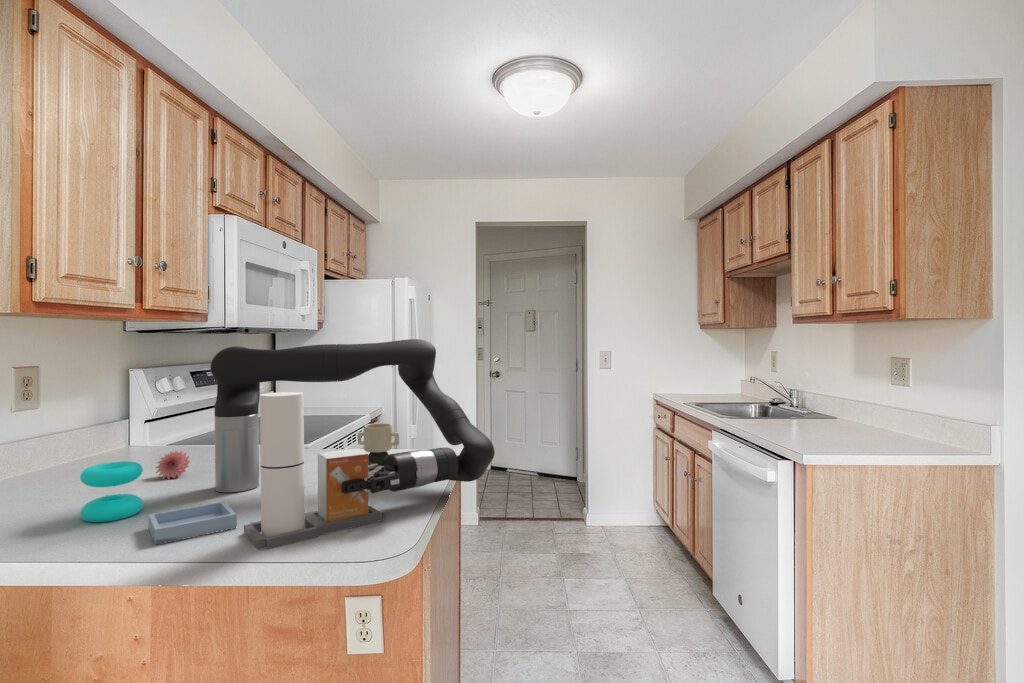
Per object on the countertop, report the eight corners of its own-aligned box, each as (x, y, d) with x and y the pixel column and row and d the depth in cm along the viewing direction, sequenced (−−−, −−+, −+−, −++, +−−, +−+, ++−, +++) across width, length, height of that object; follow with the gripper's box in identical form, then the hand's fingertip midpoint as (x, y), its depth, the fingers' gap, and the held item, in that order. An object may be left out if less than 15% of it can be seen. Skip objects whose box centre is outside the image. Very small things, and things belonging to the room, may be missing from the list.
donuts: (67, 472, 102) (98, 461, 112) (68, 525, 102) (99, 509, 112) (126, 470, 104) (151, 459, 114) (127, 522, 104) (152, 506, 114)
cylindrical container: (262, 544, 92) (261, 397, 92) (260, 531, 98) (259, 393, 98) (307, 536, 95) (305, 394, 95) (302, 524, 102) (301, 391, 101)
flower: (175, 450, 143) (167, 441, 139) (201, 462, 143) (194, 454, 138) (153, 476, 139) (144, 468, 134) (179, 489, 138) (171, 482, 134)
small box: (326, 529, 99) (325, 458, 99) (317, 520, 104) (316, 452, 104) (369, 521, 103) (369, 453, 103) (359, 512, 109) (358, 447, 109)
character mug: (404, 473, 140) (403, 423, 140) (394, 480, 133) (393, 427, 133) (363, 472, 142) (363, 422, 141) (352, 479, 134) (351, 427, 134)
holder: (243, 532, 98) (242, 524, 98) (360, 507, 111) (360, 500, 111) (259, 550, 89) (259, 541, 89) (383, 521, 103) (383, 513, 103)
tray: (148, 528, 100) (148, 514, 100) (224, 514, 108) (224, 501, 108) (155, 545, 92) (155, 529, 92) (236, 528, 100) (236, 514, 100)
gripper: (394, 446, 118) (320, 457, 108) (427, 457, 107) (348, 470, 97) (394, 480, 118) (320, 494, 108) (427, 495, 107) (348, 512, 97)
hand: (333, 483), depth 103 cm, fingers open, 8 cm apart
